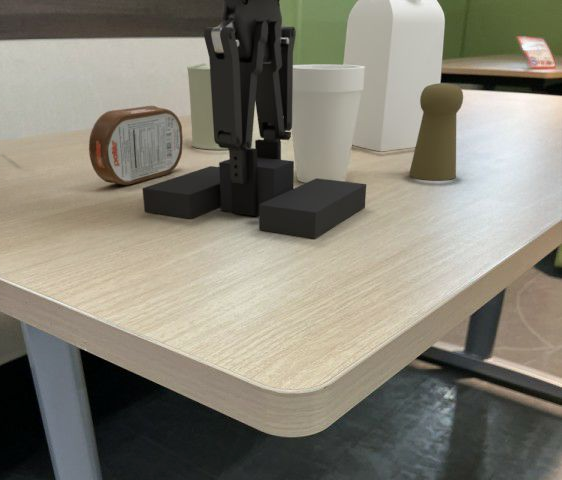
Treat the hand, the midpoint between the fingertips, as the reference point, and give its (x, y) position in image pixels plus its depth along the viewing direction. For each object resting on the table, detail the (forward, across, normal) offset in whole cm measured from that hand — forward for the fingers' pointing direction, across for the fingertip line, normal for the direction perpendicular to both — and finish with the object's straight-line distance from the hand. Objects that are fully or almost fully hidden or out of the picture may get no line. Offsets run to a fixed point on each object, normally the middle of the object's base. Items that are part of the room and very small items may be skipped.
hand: (257, 207), depth 67 cm
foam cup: (0, +17, 0) cm, 17 cm away
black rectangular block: (0, 0, 0) cm, 0 cm away
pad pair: (0, 0, 0) cm, 0 cm away
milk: (0, +47, +2) cm, 47 cm away
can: (0, +32, +25) cm, 41 cm away
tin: (0, +6, +20) cm, 21 cm away
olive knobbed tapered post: (0, +26, -12) cm, 29 cm away
